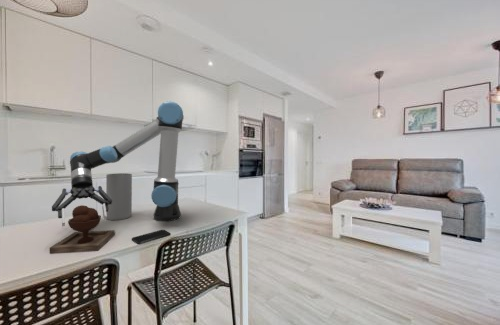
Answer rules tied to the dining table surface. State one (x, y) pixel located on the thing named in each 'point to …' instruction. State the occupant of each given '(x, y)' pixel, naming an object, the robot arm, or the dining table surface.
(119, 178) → the cylinder vase
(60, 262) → the dining table surface
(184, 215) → the dining table surface
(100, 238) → the walnut tray
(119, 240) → the dining table surface
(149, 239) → the phone
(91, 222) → the ice cream bowl
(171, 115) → the robot arm
